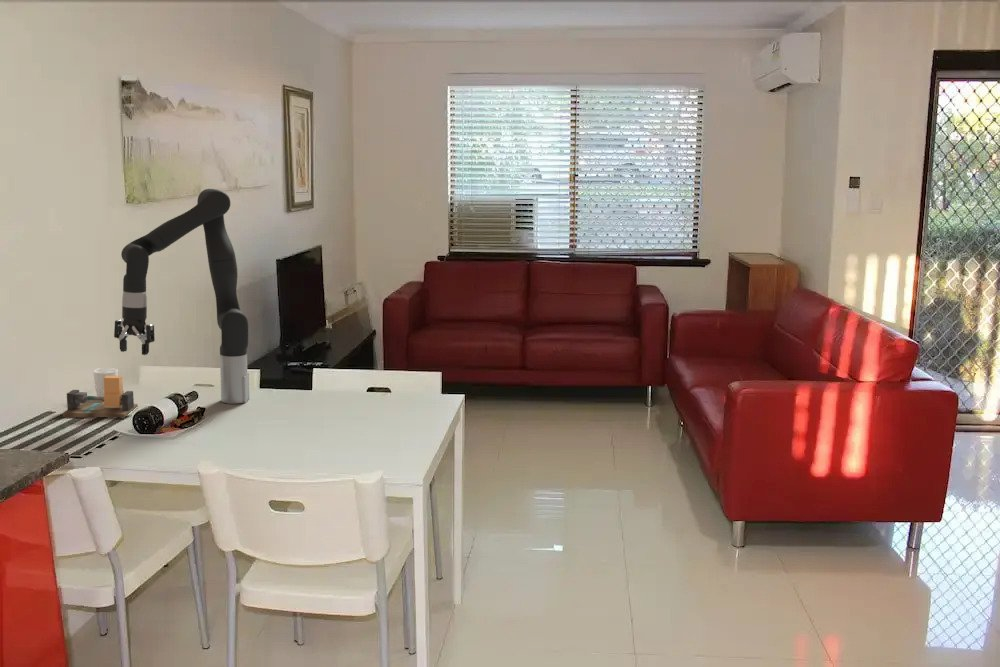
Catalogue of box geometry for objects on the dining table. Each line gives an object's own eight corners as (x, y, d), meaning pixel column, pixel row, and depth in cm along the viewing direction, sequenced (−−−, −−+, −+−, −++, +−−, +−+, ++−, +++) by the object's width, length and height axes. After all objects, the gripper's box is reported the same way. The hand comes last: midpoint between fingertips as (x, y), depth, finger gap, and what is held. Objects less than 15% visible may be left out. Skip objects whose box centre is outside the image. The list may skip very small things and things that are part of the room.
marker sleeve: (124, 403, 305) (123, 375, 303) (119, 406, 301) (118, 378, 299) (109, 402, 305) (107, 375, 303) (104, 406, 301) (102, 378, 299)
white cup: (90, 399, 318) (88, 372, 316) (104, 393, 325) (103, 367, 323) (109, 401, 316) (108, 374, 314) (123, 395, 324) (122, 369, 322)
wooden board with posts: (137, 408, 310) (136, 388, 308) (124, 418, 298) (123, 397, 296) (78, 406, 309) (77, 387, 307) (63, 416, 297) (61, 396, 296)
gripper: (160, 306, 298) (159, 354, 301) (124, 301, 302) (124, 348, 305) (144, 308, 291) (144, 357, 294) (108, 303, 295) (108, 351, 298)
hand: (134, 352), depth 300 cm, fingers open, 8 cm apart
